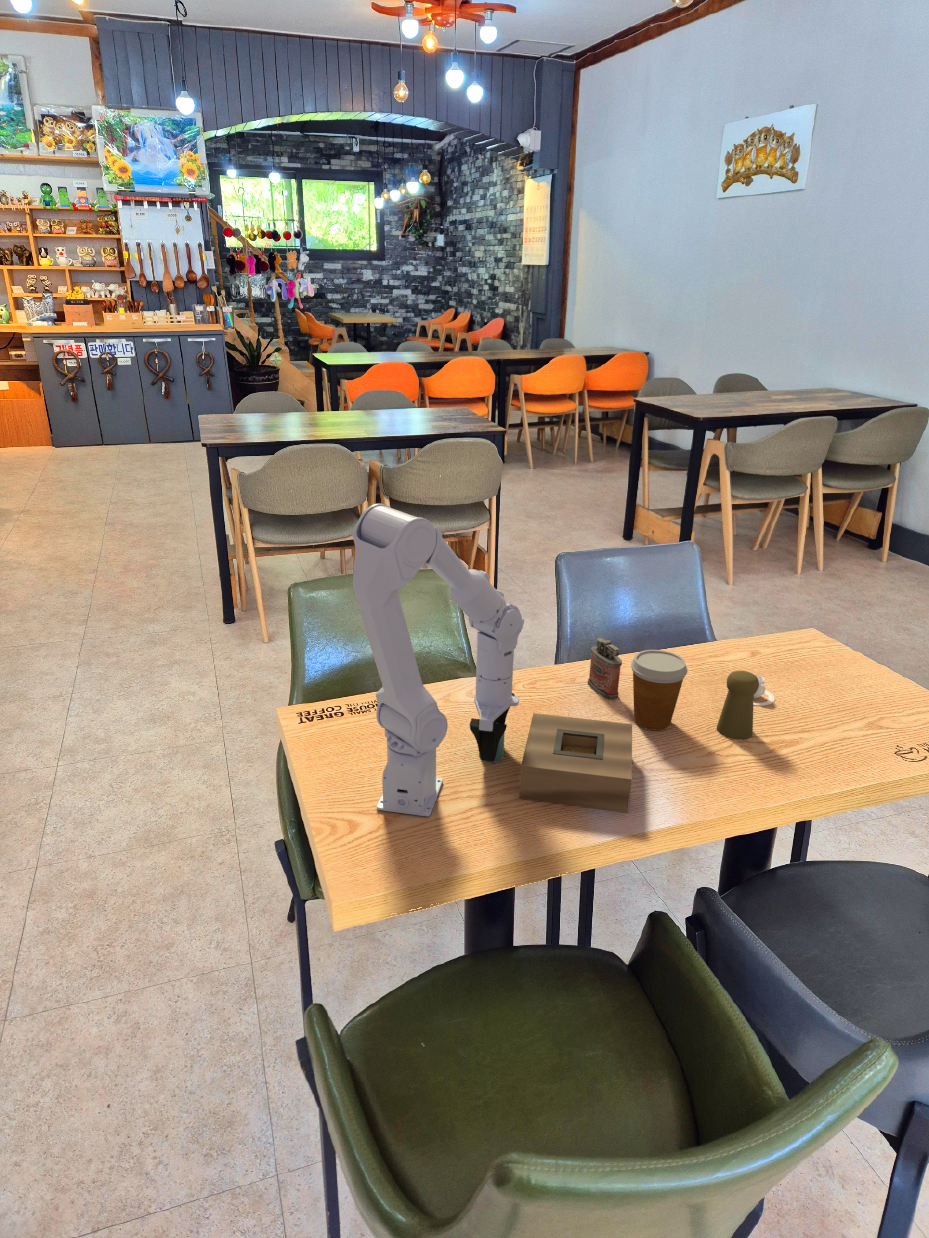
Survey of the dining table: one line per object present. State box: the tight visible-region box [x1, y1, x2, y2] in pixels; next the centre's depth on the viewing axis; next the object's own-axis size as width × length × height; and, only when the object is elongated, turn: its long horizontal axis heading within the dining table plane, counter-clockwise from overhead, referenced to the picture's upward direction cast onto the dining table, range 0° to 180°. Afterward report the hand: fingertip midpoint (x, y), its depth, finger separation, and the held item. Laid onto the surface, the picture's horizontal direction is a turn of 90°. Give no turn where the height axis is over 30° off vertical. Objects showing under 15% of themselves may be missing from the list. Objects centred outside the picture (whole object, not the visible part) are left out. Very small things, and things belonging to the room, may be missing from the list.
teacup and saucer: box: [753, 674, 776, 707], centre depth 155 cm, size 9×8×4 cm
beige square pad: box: [563, 745, 595, 754], centre depth 128 cm, size 5×5×1 cm
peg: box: [478, 723, 506, 763], centre depth 133 cm, size 4×4×5 cm
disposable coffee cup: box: [630, 649, 689, 731], centre depth 143 cm, size 10×10×12 cm
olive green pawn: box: [716, 670, 759, 741], centre depth 141 cm, size 6×6×11 cm
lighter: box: [587, 637, 623, 701], centre depth 154 cm, size 8×3×10 cm, turn 25°
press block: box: [518, 712, 633, 814], centre depth 128 cm, size 16×16×6 cm
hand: (491, 747), depth 133 cm, fingers open, 7 cm apart
